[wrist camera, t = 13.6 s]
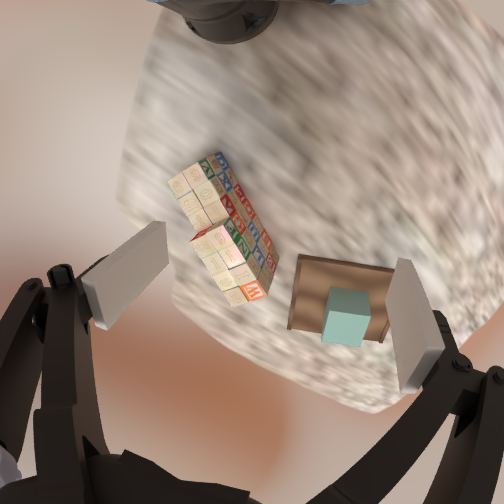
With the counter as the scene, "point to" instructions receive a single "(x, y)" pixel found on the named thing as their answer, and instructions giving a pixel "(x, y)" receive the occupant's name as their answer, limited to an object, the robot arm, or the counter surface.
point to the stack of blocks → (226, 230)
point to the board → (341, 276)
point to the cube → (346, 317)
